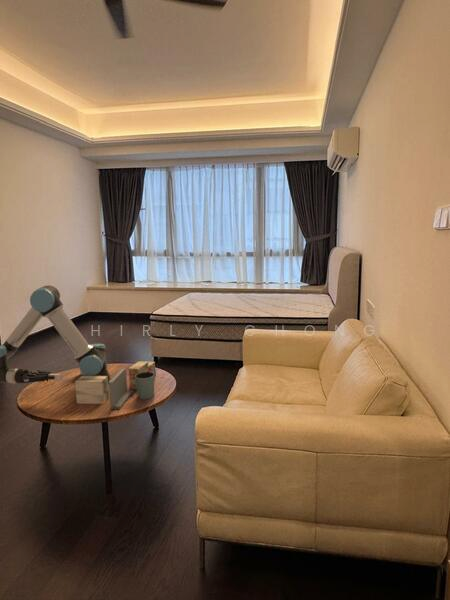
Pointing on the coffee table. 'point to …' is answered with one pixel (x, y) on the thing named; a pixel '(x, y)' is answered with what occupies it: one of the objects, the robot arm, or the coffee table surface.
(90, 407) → the coffee table surface
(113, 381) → the stop board
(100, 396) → the ash block
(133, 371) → the stack of blocks
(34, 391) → the coffee table surface
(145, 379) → the green cup
